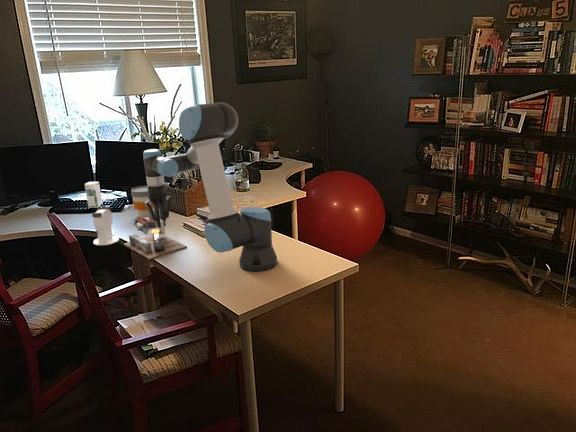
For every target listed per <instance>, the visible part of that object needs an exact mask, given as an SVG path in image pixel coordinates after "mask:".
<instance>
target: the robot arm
mask: <svg viewBox="0 0 576 432" xmlns="http://www.w3.org/2000/svg"><path fill="white" fill-rule="evenodd" d="M238 125H239V116H238V113H237V111H236V110H235V108H233V106H231V105H230V104H228V103H225V102H215V103H213V102H212V103H203V104H202V103H201V104H193V105H189V106H186V107H184V108H183V109H182V110H181V112H180V115H179V119H178V129H179V133H180V135H181V136H182V139H185V140H187V141H188V142H189V145H190V148H189V149H188V150H187V151H186V152H185V153H182V154H176V155H170V156H162V152H161V150H160V149H158V148H157V149H156V148H151V149H146V150H144V151H143V153H142V154H143V155H142V156H143V164H144V172H145V178H146V184H147V185H146V186H147V187H148V194H149V197H148V200H147V201H146V202H144V204H145V205H146V206H147V209H148V211H149V213H150V216H151V219H152V220H154V221H155V222H156V228H157V229H159V231H160V234H162V235H166V231H165V230H166V229H165V227H166V226H167V225H166V220H167V219H169V217H170V209H171V208H170V206H171V201H172V199H173V198H172V196H169V195H168V194H167V193H166V185H165V177H168V178H171V177H174V176H175V175H176V174H180V173H184V172H188V171H194V170H198V169H199V171H200V176H201V179H202V183H203V188H204V193H205V196H206V200H207V205H208V208H209V215H208V217H207V222H208V223H207V224H206V225H205V226H204V230H203V232H204V233H203V234H204V237H205V240H206V242H207V244H208V245H209V246H210V248H211V249H212V250H213V251H215V252H217V253H225V252H230V251H232V250H234V249H237V248H240V247H242V248H241V252H240V256H239V261H238V262H239V267H240V268H241V269H242V270H245V271H247V272H263V271H264V272H266V271H269V270H271V269H273V268H275V267H276V266H277V265H278V257H277V254H276V251H275V249H274V247H273V239H272V238H273V237H272V218H271V212H270V211H269V210H268V209H267V208H265V207H257V206H246V207H242V208H241V209H240V211H238V210H237V209H236V208H234V205H233V200H232V197H231V193H230V189H229V183H228V179H227V176H226V172H225V171H226V170H225V167H224V164H223V163H224V162H223V158H222V154H221V149H220V143H221V142H222V141H224V139H228V138H229V137H231V136H232V135H233V133H235V131H236V130H237V128H238V127H239V126H238ZM150 202H151V203H153V206H154V211H153V209H152V207H151V203H150ZM154 212H155V214H154ZM239 213H240V214H239Z"/></svg>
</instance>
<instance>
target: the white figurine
mask: <svg viewBox="0 0 576 432" xmlns="http://www.w3.org/2000/svg"><path fill="white" fill-rule="evenodd" d="M91 215H92V218H93V226H94V229H95V235H97V238H95V239H94V240H93V245H95V246H108V245H112V244H115V243H118V241H120V237H119V236H117V235H113V229H112V225H113V219H114V218H113V215H112V207H111V206H101V209H97V211H95V212H92V214H91Z"/></svg>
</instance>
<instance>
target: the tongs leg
mask: <svg viewBox="0 0 576 432" xmlns="http://www.w3.org/2000/svg"><path fill="white" fill-rule="evenodd" d="M151 234H152V235H153V240H154V241H153V244H154V251H156V252H160V251H164V250H165V246H164V240H163V239H161V238H160V231H159V228H156V229H151ZM152 235H151V236H152Z"/></svg>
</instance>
